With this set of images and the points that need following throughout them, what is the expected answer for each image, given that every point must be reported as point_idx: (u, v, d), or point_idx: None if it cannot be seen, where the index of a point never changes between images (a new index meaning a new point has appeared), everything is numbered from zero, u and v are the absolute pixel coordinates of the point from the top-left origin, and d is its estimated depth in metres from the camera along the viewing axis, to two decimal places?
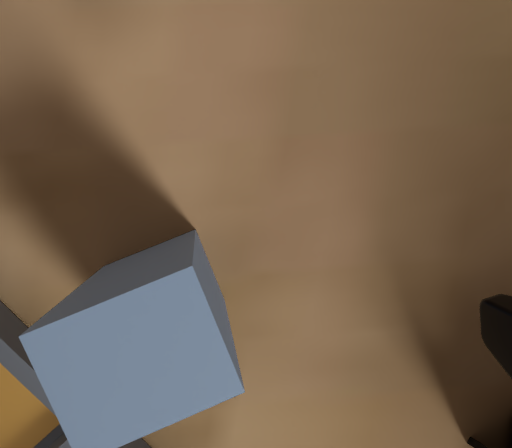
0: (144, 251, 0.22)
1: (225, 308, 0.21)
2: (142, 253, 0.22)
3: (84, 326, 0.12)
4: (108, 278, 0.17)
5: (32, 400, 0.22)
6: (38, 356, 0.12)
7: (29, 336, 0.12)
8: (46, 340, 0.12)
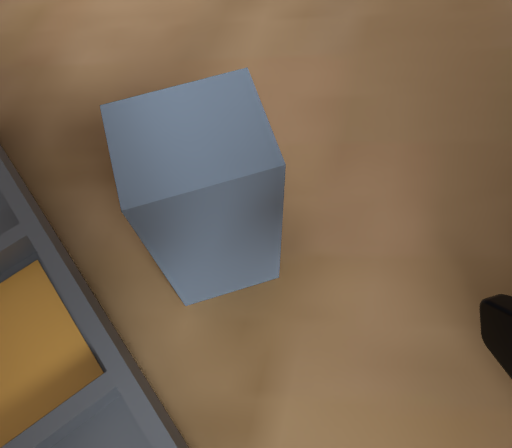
0: None
1: None
2: None
3: (152, 102, 0.15)
4: None
5: (73, 349, 0.21)
6: (110, 120, 0.15)
7: (108, 106, 0.15)
8: (120, 109, 0.15)
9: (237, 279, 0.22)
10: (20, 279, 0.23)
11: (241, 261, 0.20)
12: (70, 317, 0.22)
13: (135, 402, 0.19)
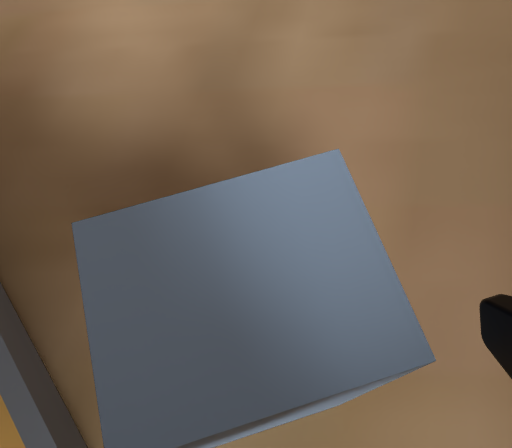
0: None
1: None
2: None
3: (169, 217, 0.08)
4: None
5: None
6: (91, 255, 0.08)
7: (87, 224, 0.08)
8: (110, 232, 0.08)
9: (285, 422, 0.15)
10: None
11: (297, 416, 0.13)
12: None
13: None
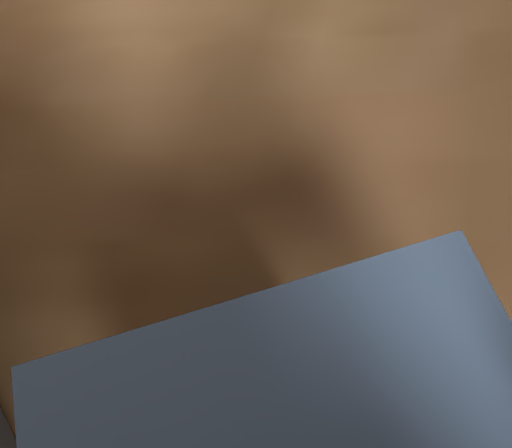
0: None
1: None
2: None
3: (180, 358, 0.05)
4: None
5: None
6: (42, 433, 0.04)
7: (37, 370, 0.05)
8: (76, 386, 0.05)
9: None
10: None
11: None
12: None
13: None
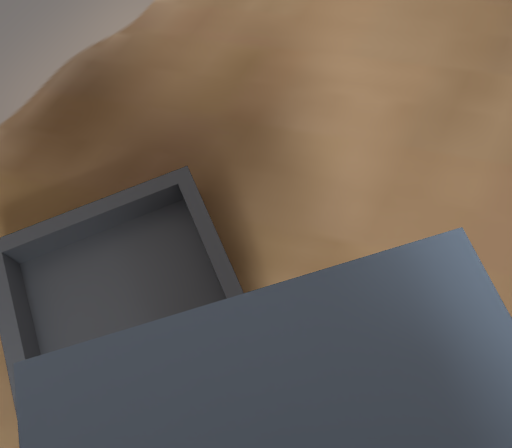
0: None
1: None
2: None
3: (182, 355, 0.05)
4: None
5: None
6: (44, 429, 0.04)
7: (39, 366, 0.05)
8: (78, 383, 0.05)
9: None
10: None
11: None
12: None
13: None
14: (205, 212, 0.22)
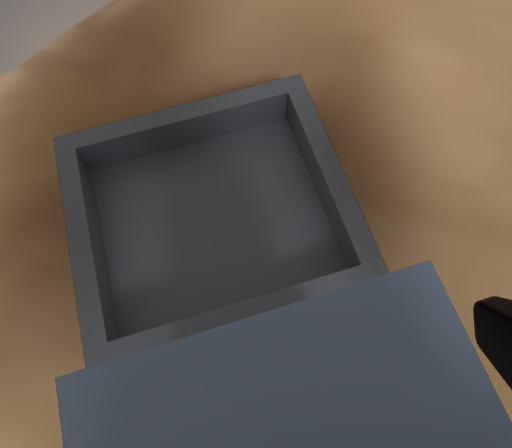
0: None
1: None
2: None
3: (196, 370, 0.06)
4: None
5: None
6: (83, 433, 0.05)
7: (77, 380, 0.06)
8: (110, 394, 0.05)
9: None
10: None
11: None
12: None
13: None
14: (321, 127, 0.18)
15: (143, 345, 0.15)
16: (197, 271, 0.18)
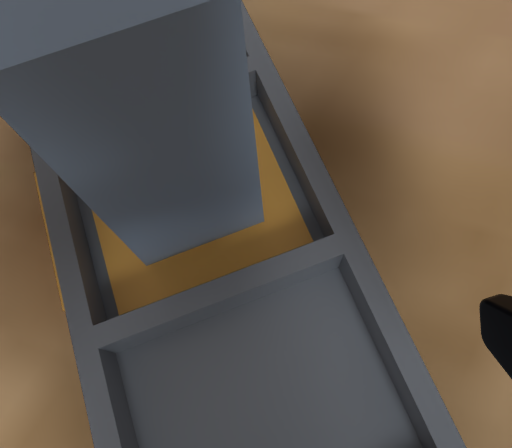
0: None
1: None
2: None
3: None
4: None
5: (282, 208, 0.19)
6: None
7: None
8: None
9: (208, 224, 0.17)
10: None
11: (206, 194, 0.15)
12: (281, 174, 0.19)
13: (365, 276, 0.16)
14: None
15: None
16: None
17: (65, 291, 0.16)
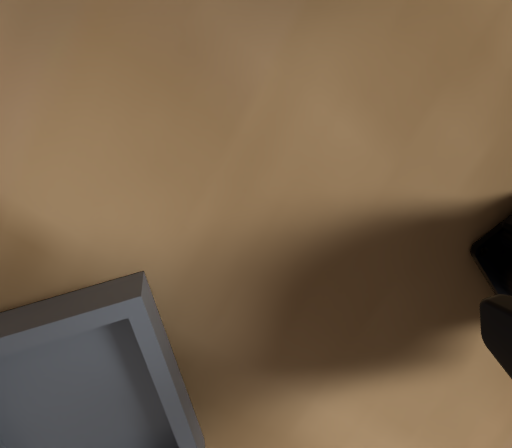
0: None
1: None
2: None
3: None
4: None
5: None
6: None
7: None
8: None
9: None
10: None
11: None
12: None
13: None
14: None
15: None
16: None
17: None
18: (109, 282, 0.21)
